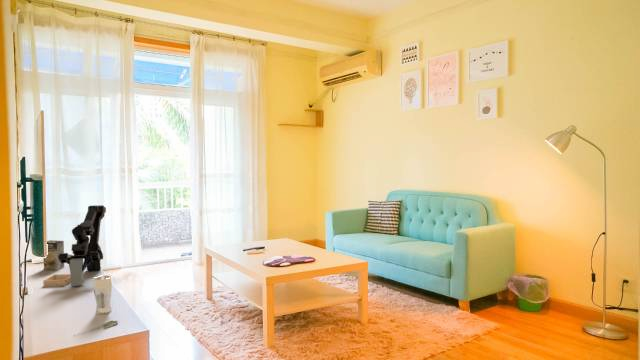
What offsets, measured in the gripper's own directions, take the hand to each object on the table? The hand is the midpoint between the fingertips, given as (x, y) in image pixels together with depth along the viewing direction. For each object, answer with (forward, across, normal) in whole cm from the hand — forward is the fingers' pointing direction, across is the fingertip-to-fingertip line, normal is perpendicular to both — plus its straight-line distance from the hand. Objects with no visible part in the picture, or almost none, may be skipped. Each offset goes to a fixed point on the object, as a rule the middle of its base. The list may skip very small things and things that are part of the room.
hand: (76, 271), depth 222 cm
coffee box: (-23, -23, +35) cm, 48 cm away
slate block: (+5, 0, +5) cm, 7 cm away
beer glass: (+35, +22, -24) cm, 47 cm away
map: (+50, +22, -39) cm, 67 cm away
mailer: (-3, -10, +14) cm, 17 cm away
